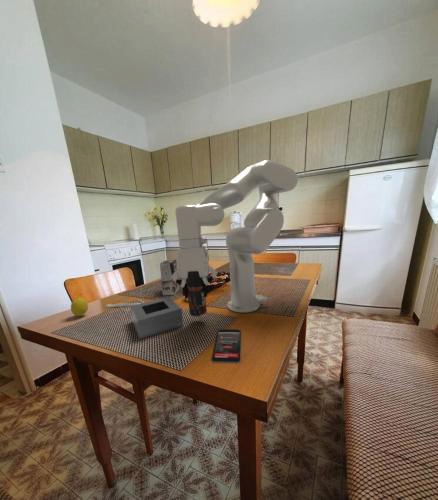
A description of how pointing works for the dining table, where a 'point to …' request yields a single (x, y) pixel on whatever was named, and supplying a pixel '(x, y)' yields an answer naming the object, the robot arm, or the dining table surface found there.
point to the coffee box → (168, 277)
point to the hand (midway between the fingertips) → (196, 295)
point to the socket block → (156, 317)
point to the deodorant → (196, 294)
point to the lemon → (79, 306)
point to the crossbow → (123, 305)
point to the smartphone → (227, 346)
